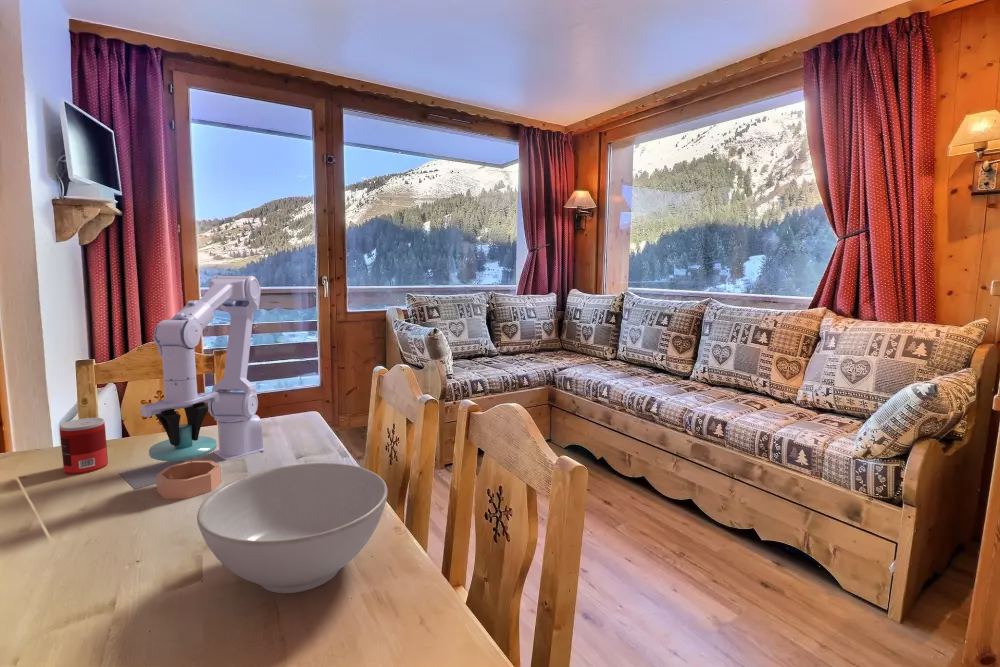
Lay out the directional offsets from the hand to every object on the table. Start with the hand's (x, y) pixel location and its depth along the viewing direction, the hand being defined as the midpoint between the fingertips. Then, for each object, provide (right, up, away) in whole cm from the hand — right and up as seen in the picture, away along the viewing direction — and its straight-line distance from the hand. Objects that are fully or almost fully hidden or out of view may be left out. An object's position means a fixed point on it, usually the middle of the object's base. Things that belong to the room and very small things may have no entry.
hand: (184, 442), depth 108 cm
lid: (0, -2, 0) cm, 2 cm away
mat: (-10, -9, +8) cm, 16 cm away
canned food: (-28, -9, +10) cm, 31 cm away
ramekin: (+1, -10, +1) cm, 10 cm away
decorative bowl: (+35, -14, -27) cm, 46 cm away
